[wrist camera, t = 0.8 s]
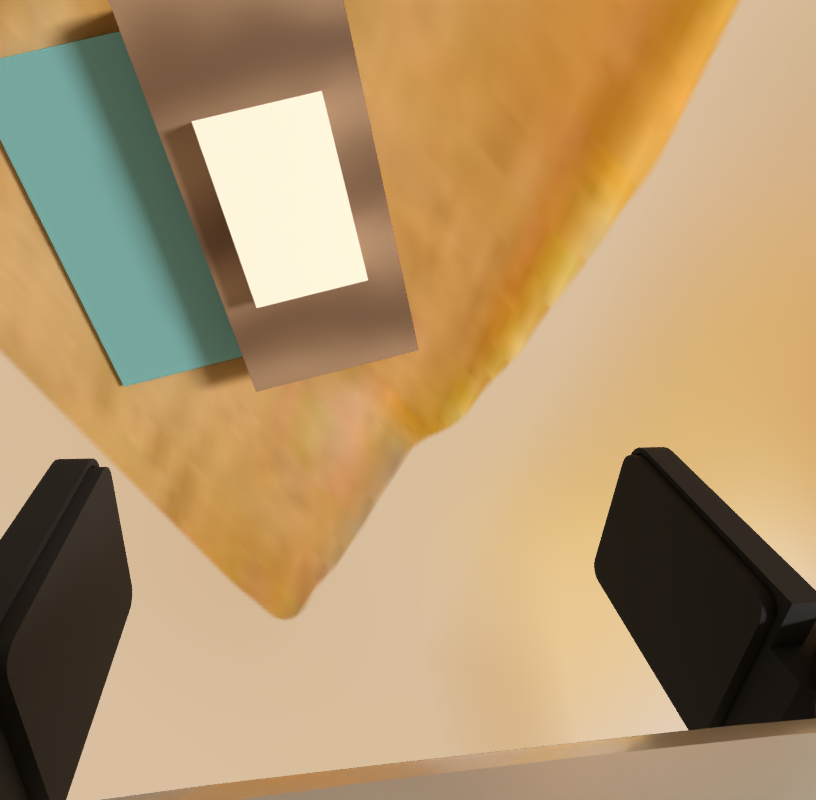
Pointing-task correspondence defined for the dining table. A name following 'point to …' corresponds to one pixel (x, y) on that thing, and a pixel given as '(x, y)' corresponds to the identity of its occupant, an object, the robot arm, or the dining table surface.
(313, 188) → the cream white panel
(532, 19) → the dining table surface
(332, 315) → the brown wooden block
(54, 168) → the mat
